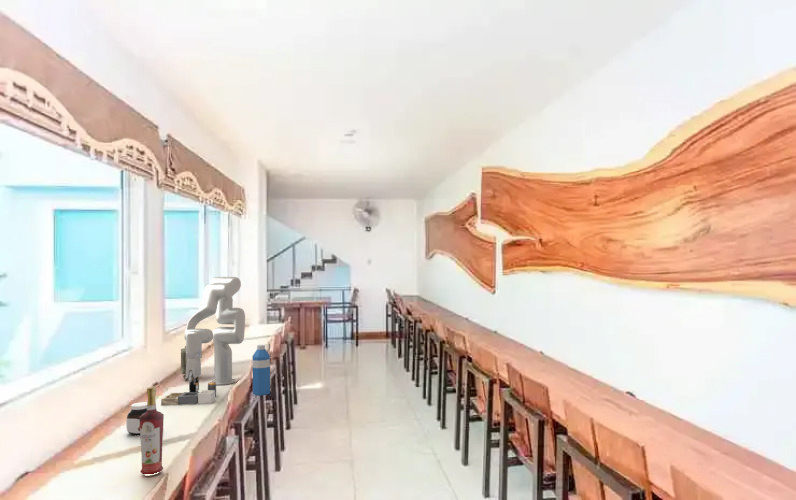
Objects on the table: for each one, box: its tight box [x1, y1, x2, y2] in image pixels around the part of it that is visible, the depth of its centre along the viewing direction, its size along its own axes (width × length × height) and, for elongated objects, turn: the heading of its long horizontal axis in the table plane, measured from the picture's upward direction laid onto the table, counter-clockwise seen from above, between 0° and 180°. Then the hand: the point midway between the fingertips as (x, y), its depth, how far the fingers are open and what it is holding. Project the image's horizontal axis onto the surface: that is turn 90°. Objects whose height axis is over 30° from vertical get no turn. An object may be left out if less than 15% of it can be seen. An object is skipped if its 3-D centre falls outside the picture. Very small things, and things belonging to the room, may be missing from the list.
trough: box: [160, 392, 183, 406], centre depth 280 cm, size 12×8×3 cm, turn 2°
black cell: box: [207, 381, 217, 398], centre depth 289 cm, size 4×4×7 cm
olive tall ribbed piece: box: [180, 345, 193, 382], centre depth 333 cm, size 14×9×25 cm, turn 25°
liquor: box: [139, 386, 165, 475], centre depth 186 cm, size 7×7×28 cm
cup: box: [197, 389, 216, 405], centre depth 278 cm, size 6×6×5 cm
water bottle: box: [252, 344, 271, 396], centre depth 295 cm, size 9×9×25 cm
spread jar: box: [125, 401, 148, 437], centre depth 232 cm, size 12×11×12 cm
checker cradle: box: [178, 391, 200, 406], centre depth 279 cm, size 9×9×4 cm
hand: (194, 390), depth 289 cm, fingers closed on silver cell, 4 cm apart
